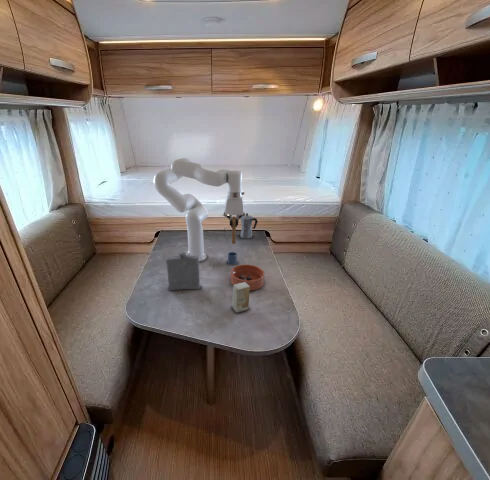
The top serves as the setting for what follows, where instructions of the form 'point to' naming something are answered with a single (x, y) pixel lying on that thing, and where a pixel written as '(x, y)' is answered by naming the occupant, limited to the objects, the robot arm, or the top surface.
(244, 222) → the coffeepot
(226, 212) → the robot arm
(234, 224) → the stick
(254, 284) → the bowl
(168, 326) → the top surface
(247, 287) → the cosmetic box
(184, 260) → the hip flask
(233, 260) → the cup
